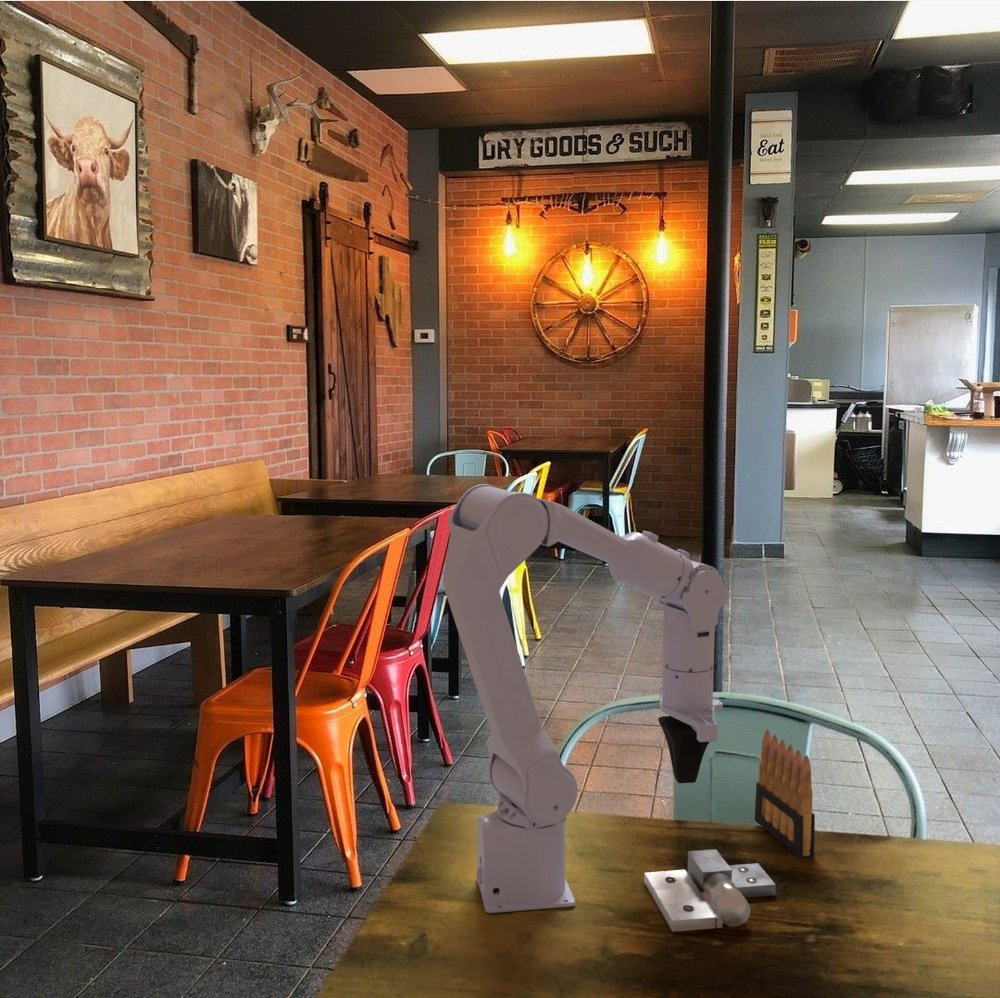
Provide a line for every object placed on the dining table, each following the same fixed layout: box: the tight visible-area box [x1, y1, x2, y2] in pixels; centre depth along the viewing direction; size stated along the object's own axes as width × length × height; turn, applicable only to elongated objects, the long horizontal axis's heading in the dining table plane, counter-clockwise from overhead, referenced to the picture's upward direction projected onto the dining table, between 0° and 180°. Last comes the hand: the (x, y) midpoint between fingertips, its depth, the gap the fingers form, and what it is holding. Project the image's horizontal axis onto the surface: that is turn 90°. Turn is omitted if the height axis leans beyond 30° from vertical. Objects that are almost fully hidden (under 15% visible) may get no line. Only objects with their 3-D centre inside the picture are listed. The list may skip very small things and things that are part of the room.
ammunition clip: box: [754, 729, 816, 859], centre depth 122 cm, size 11×2×12 cm, turn 15°
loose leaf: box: [687, 848, 777, 899], centre depth 111 cm, size 8×5×3 cm, turn 98°
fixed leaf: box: [643, 869, 751, 933], centre depth 107 cm, size 8×10×3 cm
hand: (685, 780), depth 117 cm, fingers closed
